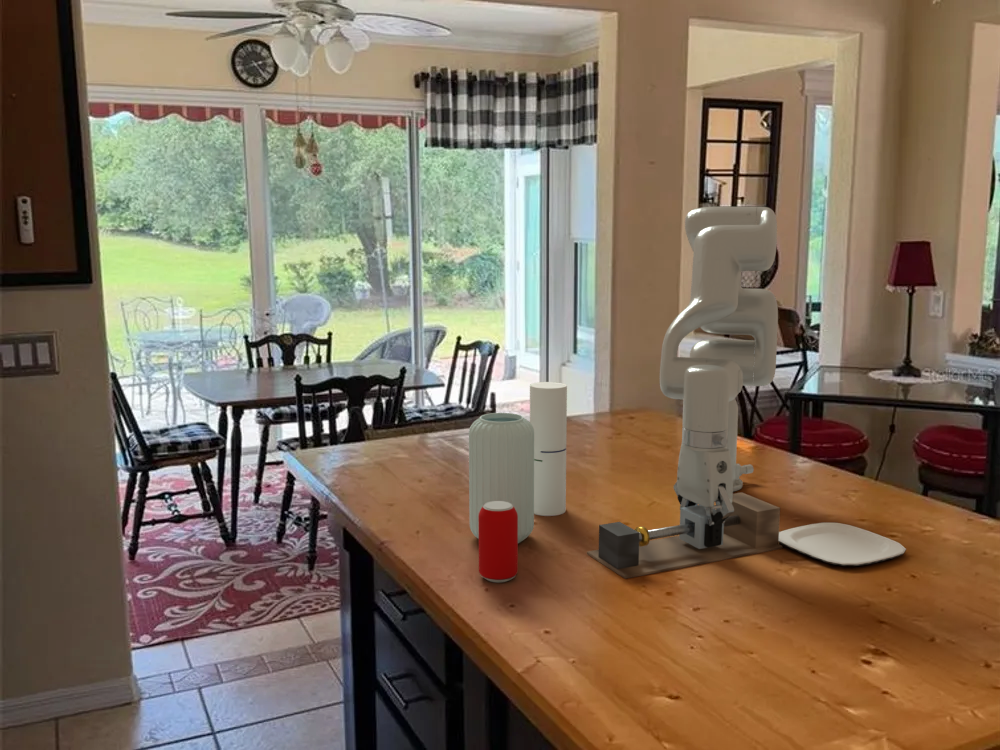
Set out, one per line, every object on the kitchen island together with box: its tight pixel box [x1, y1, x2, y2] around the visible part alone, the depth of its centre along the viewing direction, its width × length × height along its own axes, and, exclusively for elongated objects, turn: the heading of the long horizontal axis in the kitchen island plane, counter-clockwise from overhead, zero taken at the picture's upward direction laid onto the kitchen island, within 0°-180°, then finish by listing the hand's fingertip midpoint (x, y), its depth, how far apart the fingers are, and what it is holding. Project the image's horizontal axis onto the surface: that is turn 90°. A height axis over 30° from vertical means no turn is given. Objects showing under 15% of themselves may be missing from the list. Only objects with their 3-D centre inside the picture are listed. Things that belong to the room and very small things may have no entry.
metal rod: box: [634, 515, 740, 547], centre depth 152 cm, size 26×3×3 cm, turn 115°
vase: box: [468, 412, 535, 544], centre depth 158 cm, size 12×12×22 cm
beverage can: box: [478, 501, 519, 584], centre depth 141 cm, size 6×6×12 cm
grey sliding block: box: [679, 504, 724, 549], centre depth 154 cm, size 5×6×6 cm
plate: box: [778, 522, 907, 567], centre depth 155 cm, size 18×18×2 cm
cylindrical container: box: [529, 381, 568, 517], centre depth 174 cm, size 7×7×25 cm
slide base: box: [586, 492, 783, 579], centre depth 153 cm, size 32×12×7 cm, turn 115°
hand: (701, 538), depth 155 cm, fingers closed on grey sliding block, 5 cm apart
